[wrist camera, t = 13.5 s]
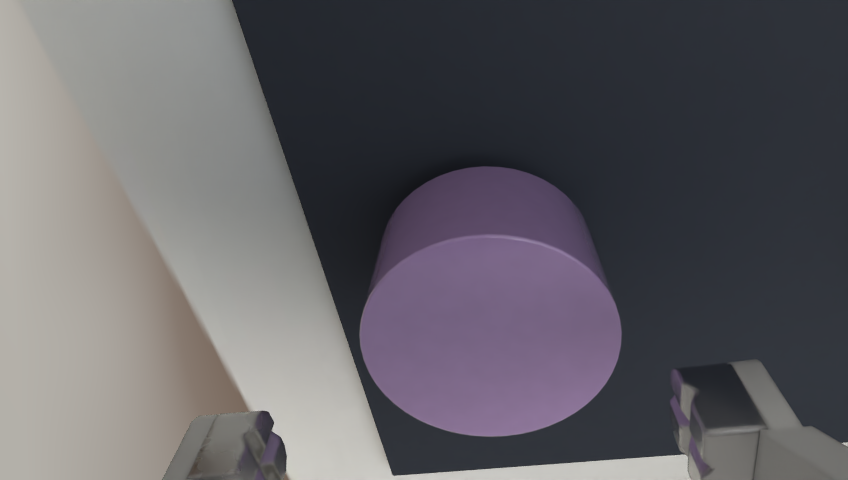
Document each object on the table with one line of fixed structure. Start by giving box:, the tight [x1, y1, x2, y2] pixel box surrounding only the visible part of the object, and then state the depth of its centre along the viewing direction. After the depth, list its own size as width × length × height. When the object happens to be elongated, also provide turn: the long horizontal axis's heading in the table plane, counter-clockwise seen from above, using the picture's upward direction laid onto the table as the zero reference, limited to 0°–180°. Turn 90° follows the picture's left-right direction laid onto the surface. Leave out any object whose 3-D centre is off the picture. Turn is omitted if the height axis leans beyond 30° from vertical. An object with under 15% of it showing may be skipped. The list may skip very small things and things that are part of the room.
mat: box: [232, 0, 848, 476], centre depth 15 cm, size 20×26×1 cm
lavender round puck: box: [359, 166, 622, 437], centre depth 15 cm, size 6×6×5 cm
